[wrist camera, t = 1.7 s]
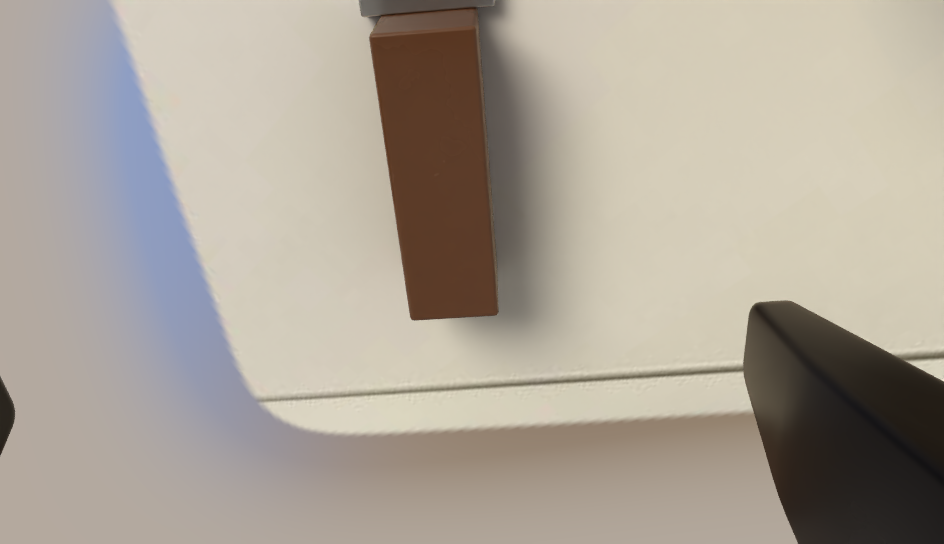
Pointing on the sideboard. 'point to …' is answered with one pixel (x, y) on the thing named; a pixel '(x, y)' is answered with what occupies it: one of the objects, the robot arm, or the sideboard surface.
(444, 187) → the cake knife
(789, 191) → the sideboard surface
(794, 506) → the robot arm
